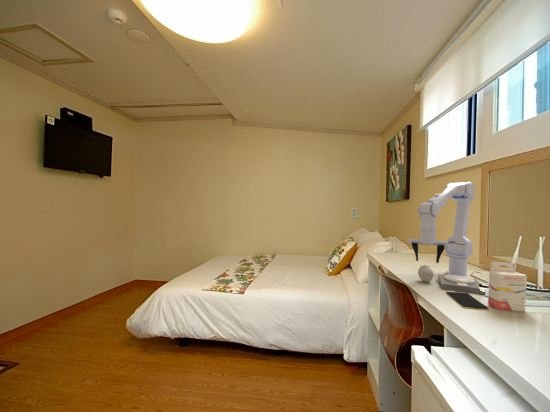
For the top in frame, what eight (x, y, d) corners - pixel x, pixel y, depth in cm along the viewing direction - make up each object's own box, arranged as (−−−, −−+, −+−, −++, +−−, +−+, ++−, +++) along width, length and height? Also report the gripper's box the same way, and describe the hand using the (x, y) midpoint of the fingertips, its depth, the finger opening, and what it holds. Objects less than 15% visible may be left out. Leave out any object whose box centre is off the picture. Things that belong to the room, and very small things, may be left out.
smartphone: (464, 305, 91) (445, 291, 105) (463, 309, 91) (445, 294, 105) (489, 308, 89) (467, 293, 104) (489, 311, 89) (467, 296, 104)
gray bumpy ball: (429, 279, 124) (429, 264, 124) (436, 284, 117) (437, 267, 117) (414, 279, 124) (415, 263, 124) (421, 283, 117) (422, 267, 117)
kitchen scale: (437, 278, 125) (438, 272, 125) (475, 283, 119) (475, 276, 119) (442, 288, 111) (442, 281, 111) (485, 294, 105) (485, 287, 105)
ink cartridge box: (497, 310, 90) (499, 264, 89) (487, 304, 95) (488, 261, 94) (526, 311, 89) (528, 265, 89) (514, 305, 94) (516, 262, 94)
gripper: (409, 230, 119) (408, 261, 119) (449, 232, 113) (447, 265, 113) (409, 228, 126) (408, 258, 126) (446, 230, 119) (445, 262, 120)
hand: (427, 261), depth 120 cm, fingers open, 7 cm apart
